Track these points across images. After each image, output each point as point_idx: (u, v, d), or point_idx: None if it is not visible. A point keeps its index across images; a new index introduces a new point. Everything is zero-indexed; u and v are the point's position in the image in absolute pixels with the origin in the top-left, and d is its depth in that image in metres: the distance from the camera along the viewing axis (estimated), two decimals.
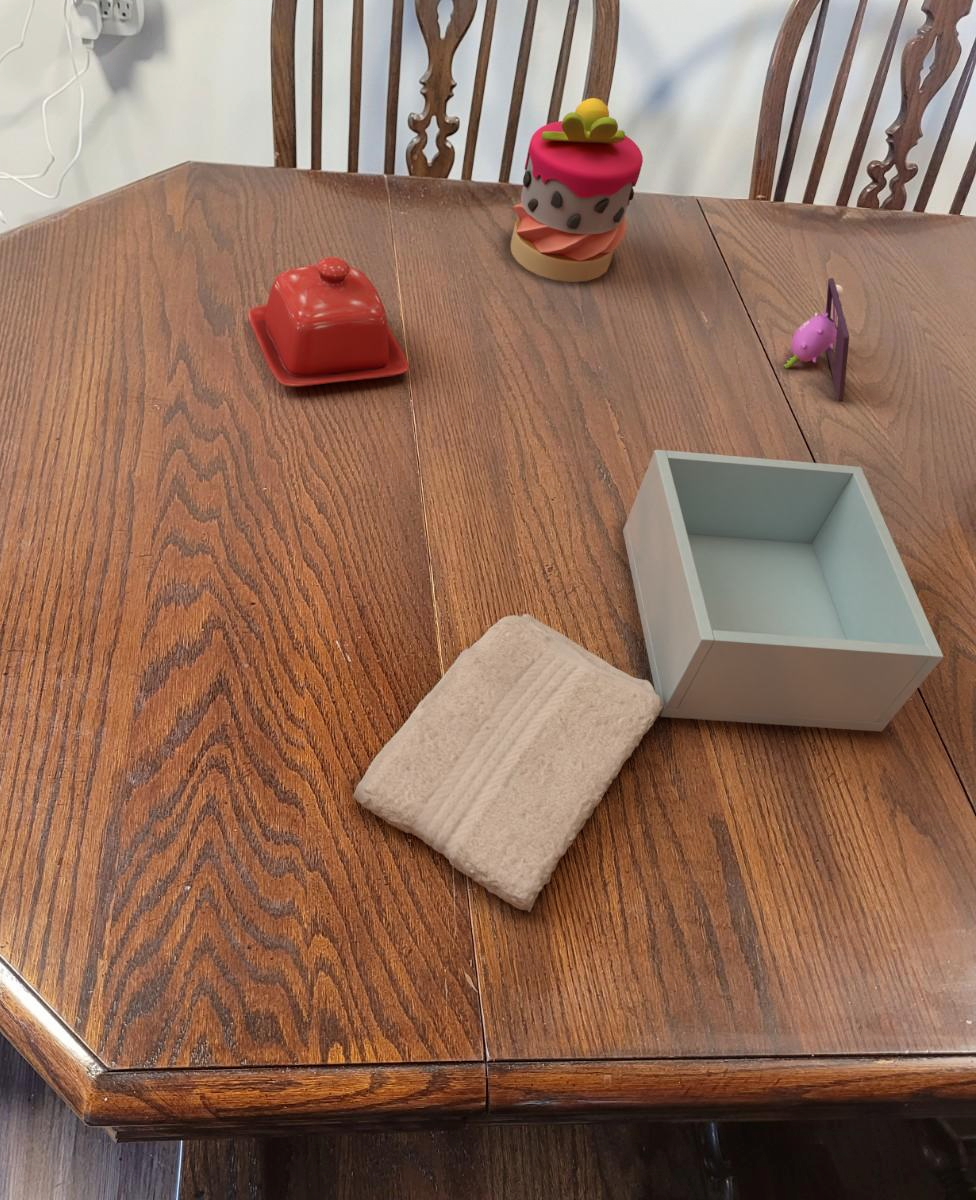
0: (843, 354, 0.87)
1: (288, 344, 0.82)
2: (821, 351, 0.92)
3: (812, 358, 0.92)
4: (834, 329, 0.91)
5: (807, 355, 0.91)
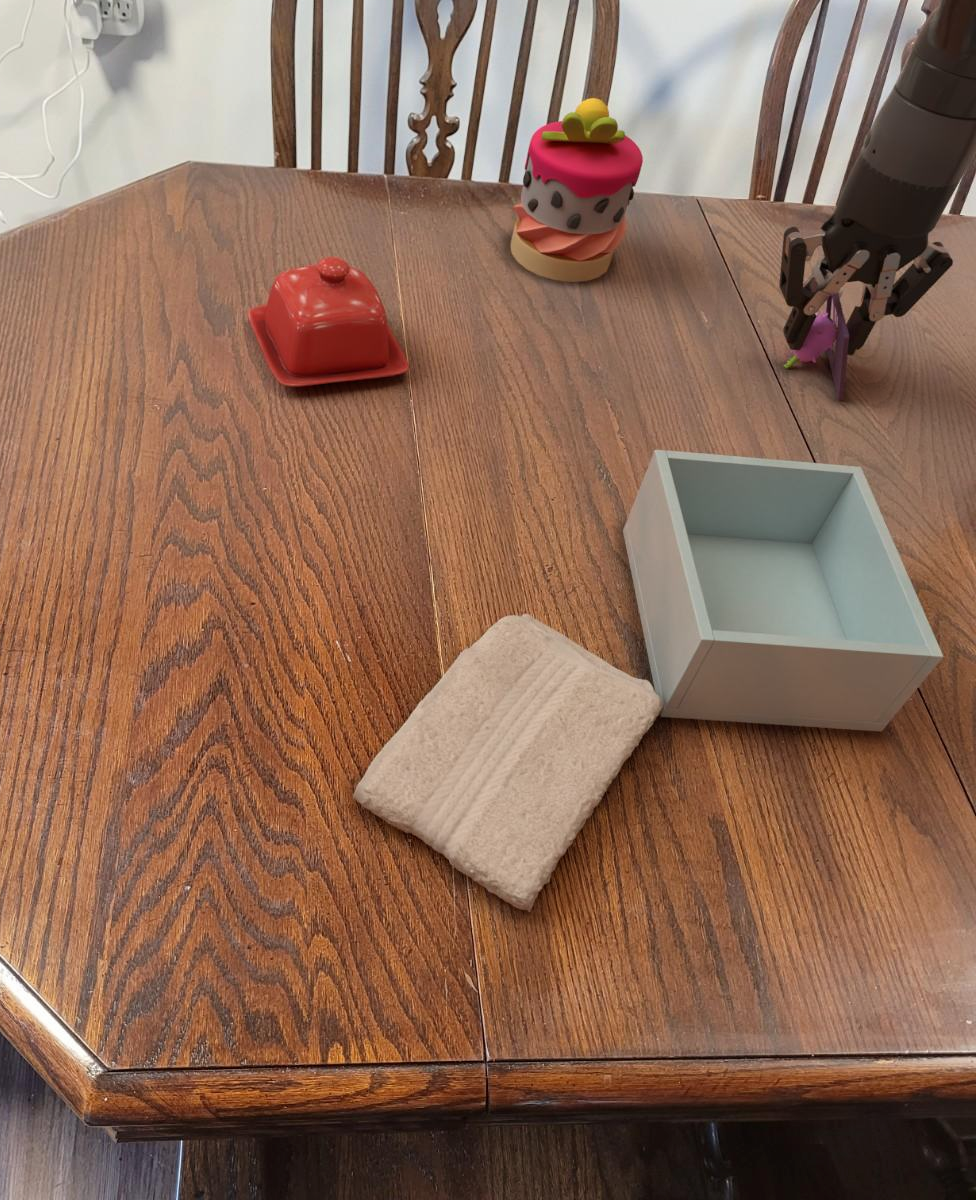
0: (843, 354, 0.87)
1: (288, 344, 0.82)
2: (821, 351, 0.92)
3: (812, 358, 0.92)
4: (834, 329, 0.91)
5: (807, 355, 0.91)
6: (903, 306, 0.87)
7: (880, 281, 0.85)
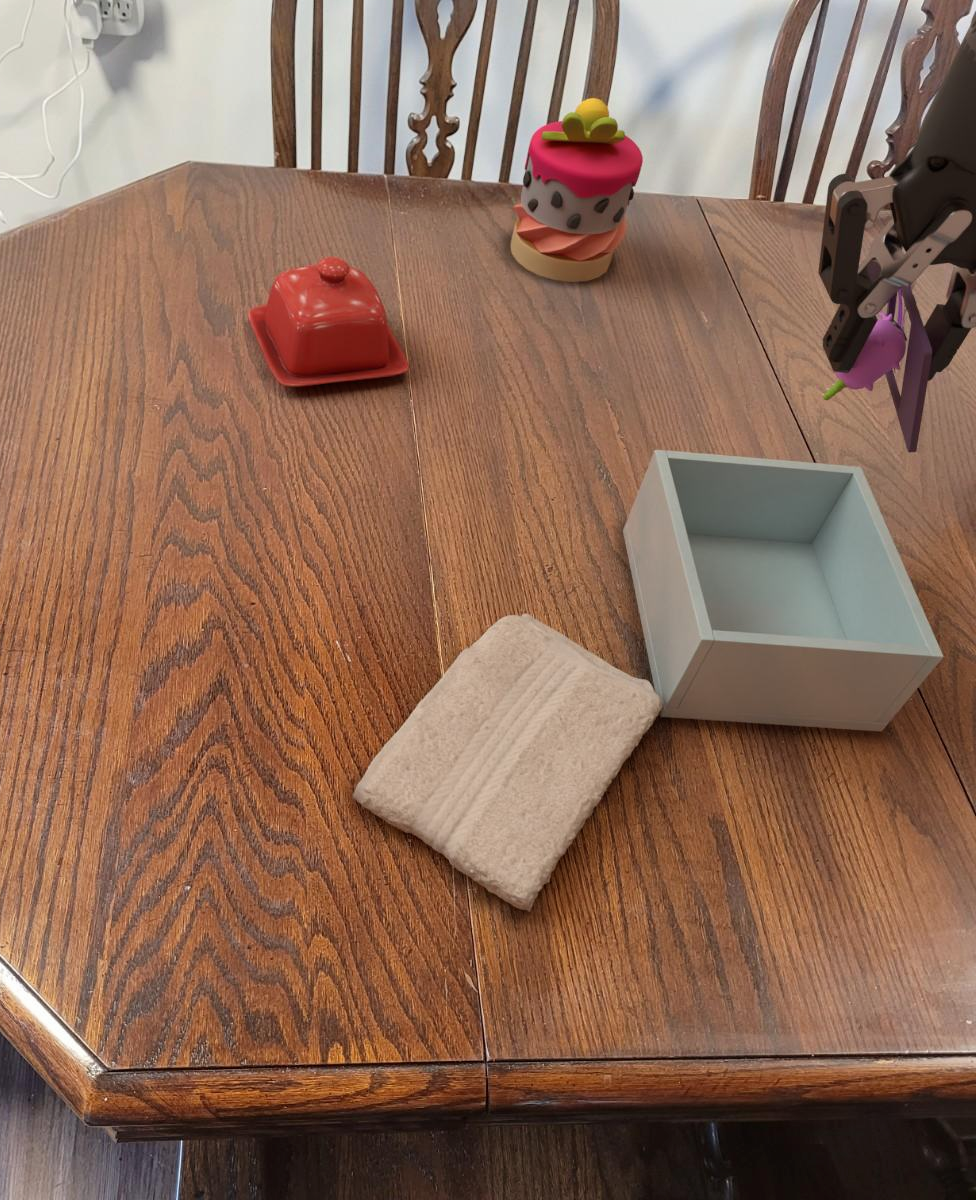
0: (921, 380, 0.54)
1: (288, 344, 0.82)
2: (881, 374, 0.59)
3: (867, 384, 0.59)
4: (902, 340, 0.58)
5: (860, 380, 0.59)
6: None
7: None
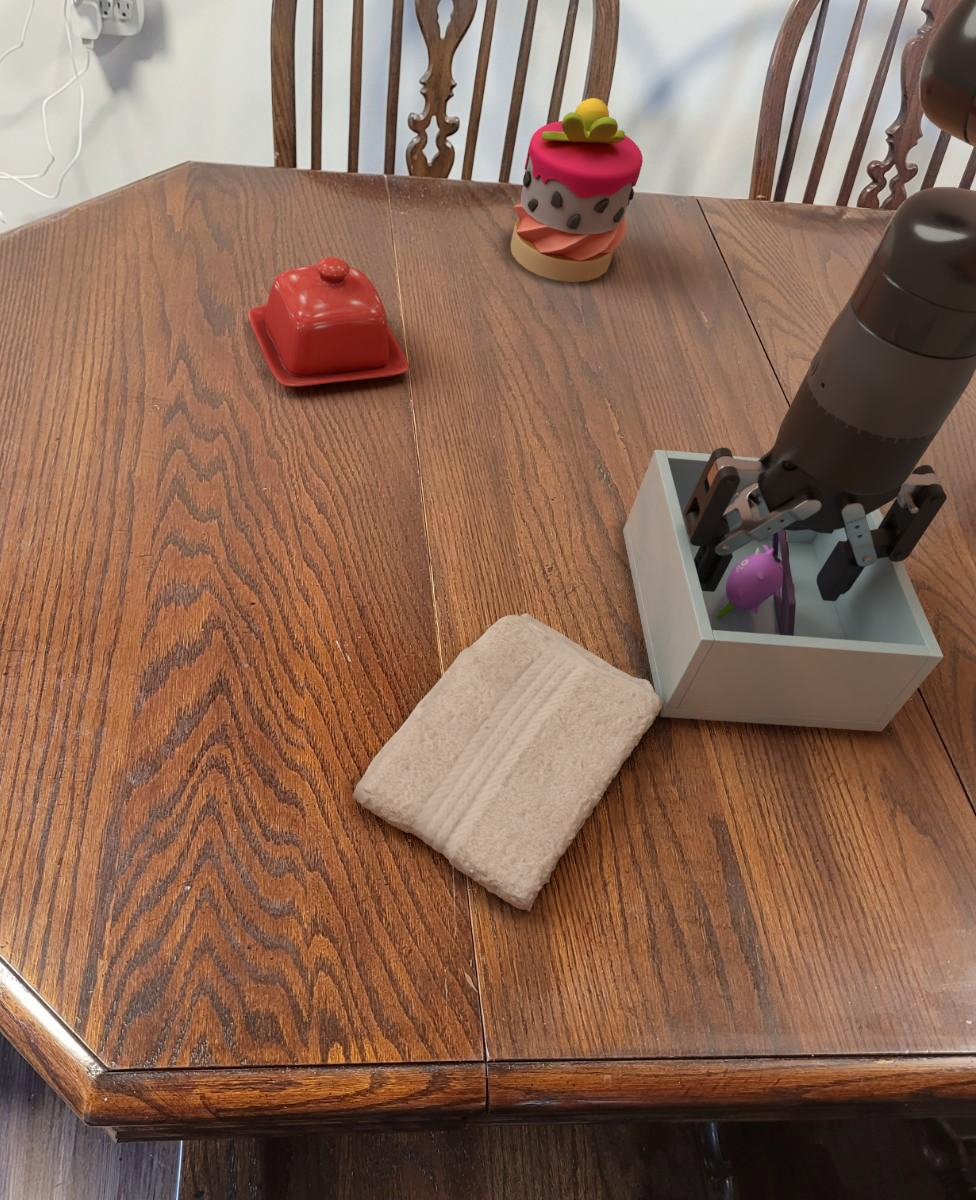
0: (789, 621, 0.65)
1: (288, 344, 0.82)
2: (764, 599, 0.70)
3: (752, 608, 0.70)
4: (781, 573, 0.69)
5: (746, 605, 0.70)
6: (901, 550, 0.65)
7: (849, 532, 0.63)
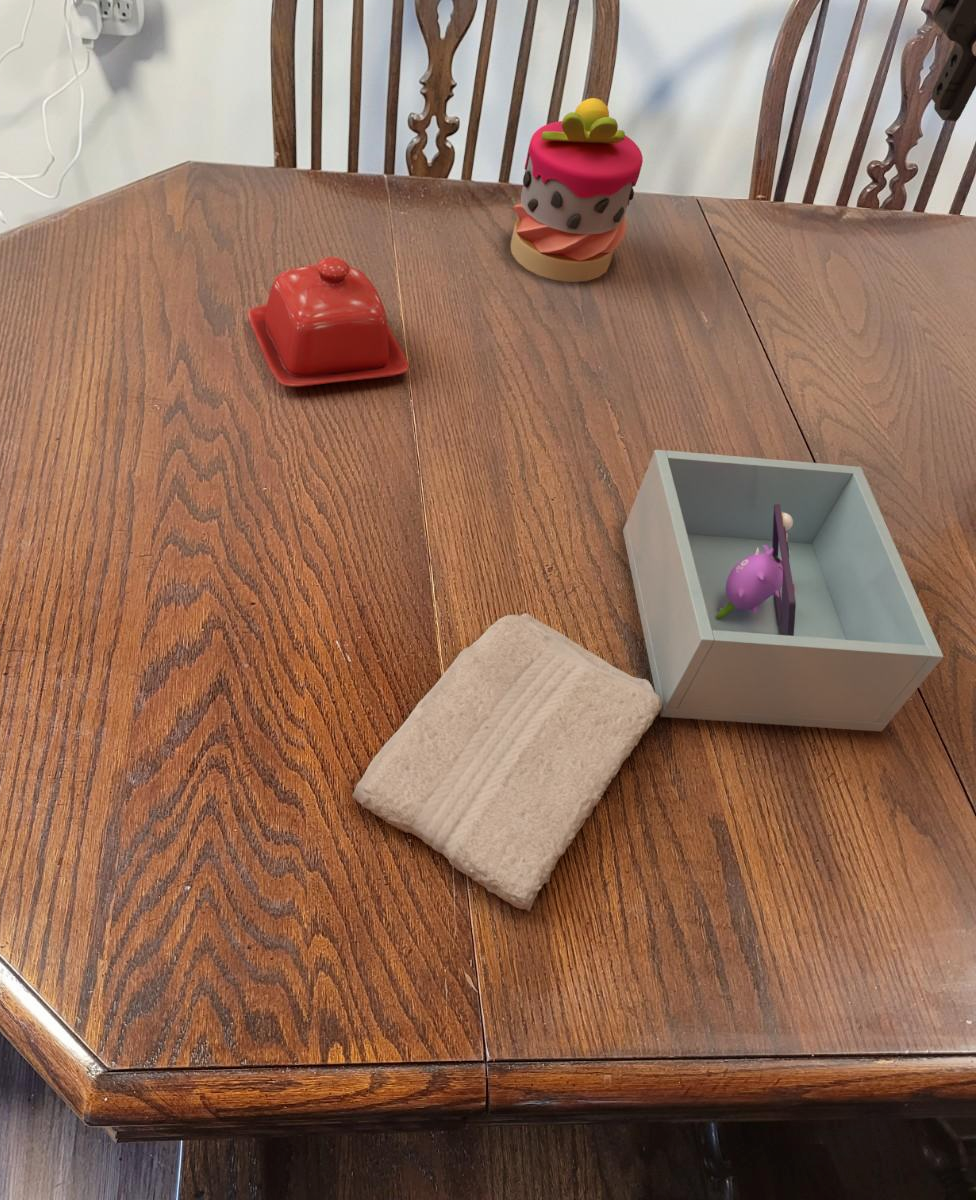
0: (789, 621, 0.65)
1: (288, 344, 0.82)
2: (764, 599, 0.70)
3: (752, 608, 0.70)
4: (781, 573, 0.69)
5: (746, 605, 0.70)
6: None
7: None
